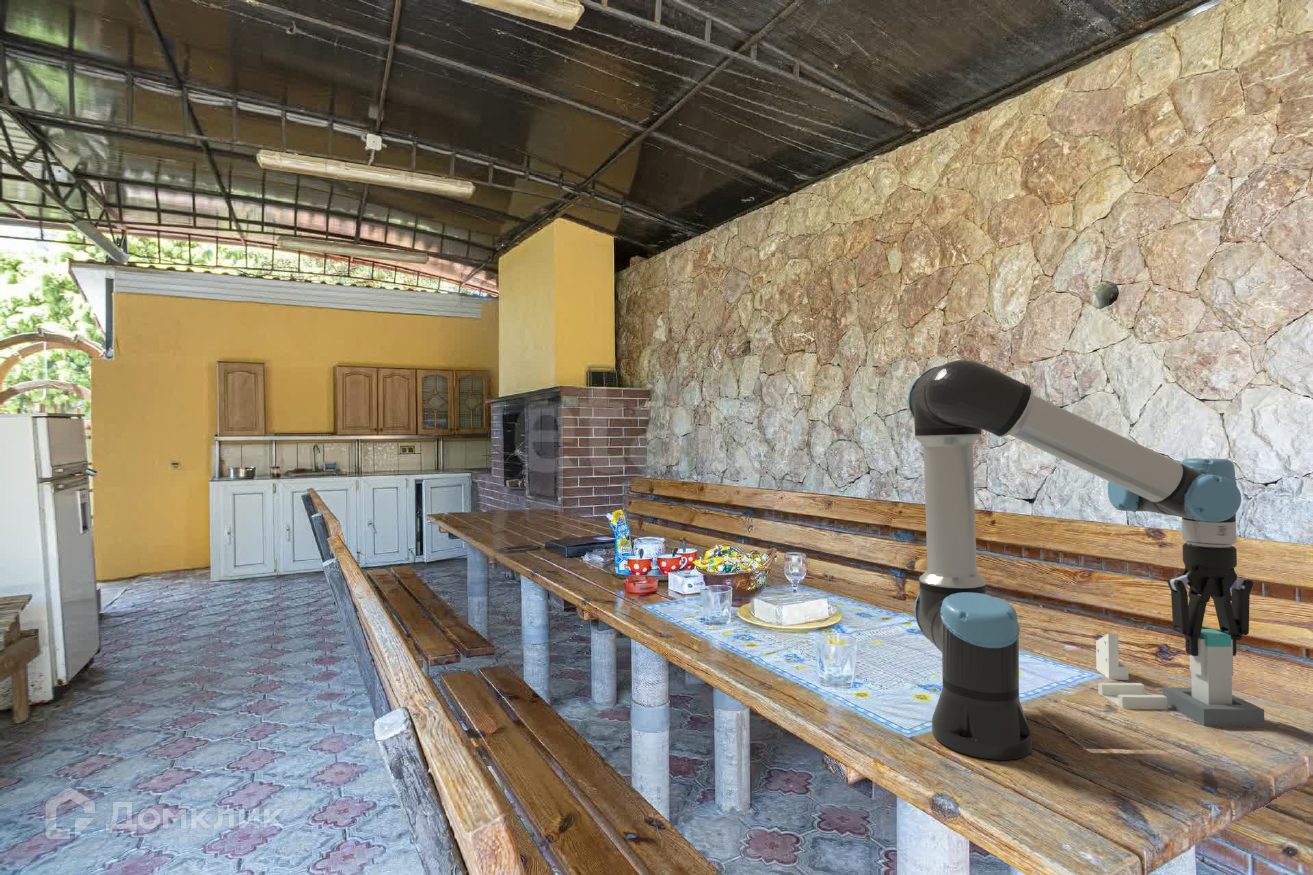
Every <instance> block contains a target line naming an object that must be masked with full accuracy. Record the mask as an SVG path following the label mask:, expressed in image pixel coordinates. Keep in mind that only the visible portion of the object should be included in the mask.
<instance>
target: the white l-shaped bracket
mask: <svg viewBox="0 0 1313 875" xmlns="http://www.w3.org/2000/svg"><path fill="white" fill-rule="evenodd" d="M1095 654H1096V655H1095V659H1096V660H1095V662H1096V663H1095V666H1096V667H1095V668H1096V670H1097V672H1099V673H1100V674H1102V675H1103V676H1104V677H1106V678H1107V679H1109V680H1119V681H1121V680H1122V681H1129V680H1130V678H1129V668H1130V667H1128V666H1127V665H1125V664H1124V663H1122V662H1120V661H1119V659H1120V658H1119V633H1110V632H1109V633H1107V634H1105V635H1103V636H1102V637H1100V638H1099V639H1097V640H1096V641H1095Z"/></svg>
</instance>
